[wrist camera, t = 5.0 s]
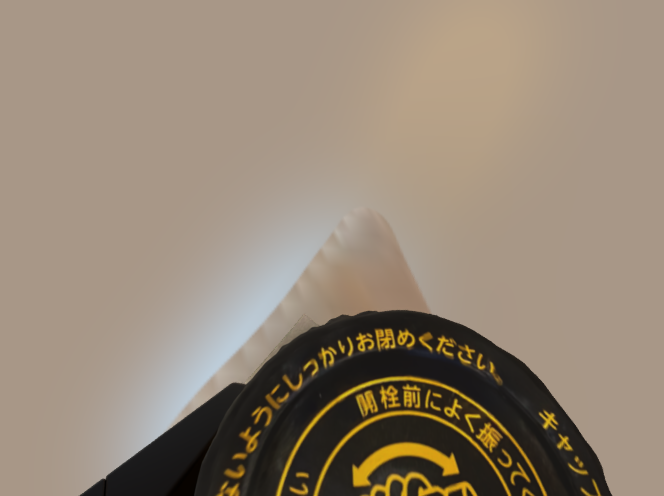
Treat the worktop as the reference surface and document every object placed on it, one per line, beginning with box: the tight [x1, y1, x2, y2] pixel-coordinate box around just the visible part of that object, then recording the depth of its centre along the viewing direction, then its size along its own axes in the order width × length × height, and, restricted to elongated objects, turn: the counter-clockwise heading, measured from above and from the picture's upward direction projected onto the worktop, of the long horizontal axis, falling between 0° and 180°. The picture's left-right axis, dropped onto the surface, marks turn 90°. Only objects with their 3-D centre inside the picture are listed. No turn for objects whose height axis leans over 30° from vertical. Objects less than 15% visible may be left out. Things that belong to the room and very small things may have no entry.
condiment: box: [194, 310, 612, 496], centre depth 9 cm, size 7×8×12 cm
